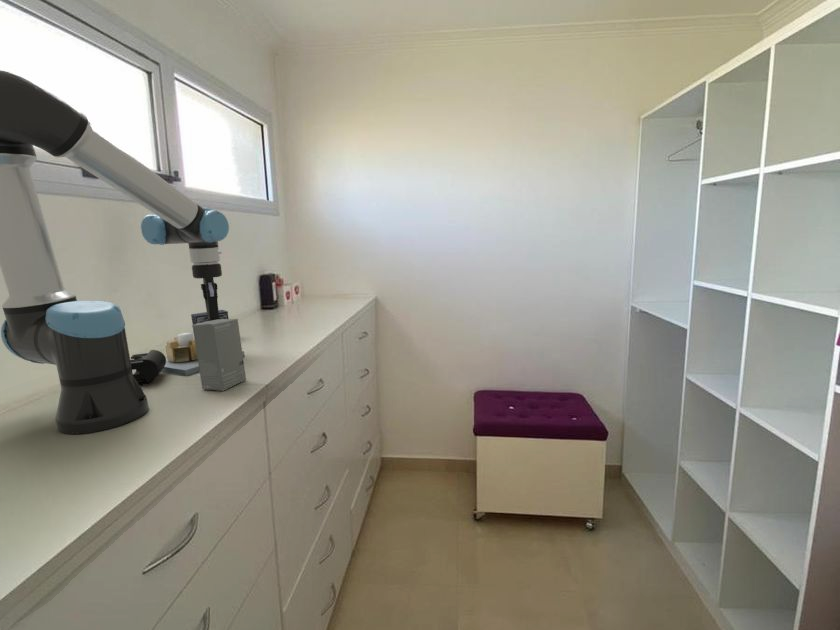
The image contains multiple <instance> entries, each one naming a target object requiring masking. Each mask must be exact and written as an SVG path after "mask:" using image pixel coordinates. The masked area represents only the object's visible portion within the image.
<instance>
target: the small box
mask: <svg viewBox="0 0 840 630" xmlns="http://www.w3.org/2000/svg"><path fill="white" fill-rule="evenodd" d="M218 311H219V318H220V319H230V317H229V312H228V311H229V310H228V311H227V310H225V309H218ZM190 316H191V320H192V321H191V322H192V324H191V325H193V324H198V323H202V322H206V321H208V318H207V311H205V312H198V313H191V315H190Z"/></svg>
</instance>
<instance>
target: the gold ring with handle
mask: <svg viewBox="0 0 840 630" xmlns="http://www.w3.org/2000/svg"><path fill="white" fill-rule="evenodd" d="M165 350H166V357H167V359H168V361H171V362H184V361H190V360H196V359H198V358H197V351H196V345H195V339H192V340H189V345H188V346H179V343H178V336H175V337H173V340H170V341H166V346H165Z"/></svg>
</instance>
